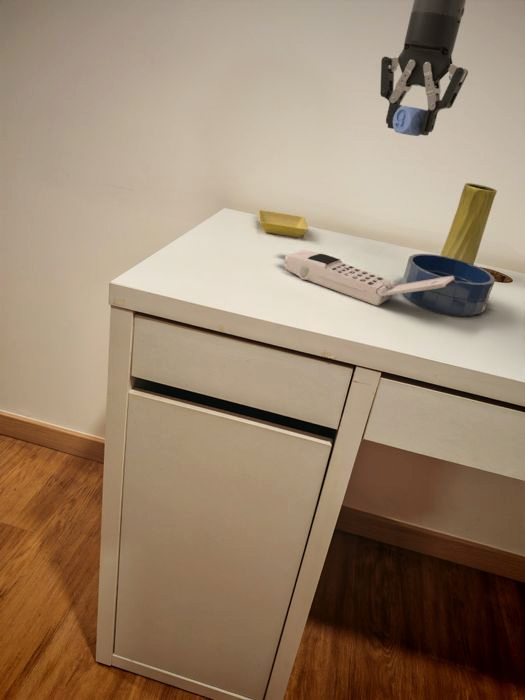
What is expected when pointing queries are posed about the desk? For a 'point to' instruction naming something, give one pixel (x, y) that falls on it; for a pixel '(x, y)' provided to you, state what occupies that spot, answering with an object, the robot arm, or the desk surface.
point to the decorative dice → (408, 120)
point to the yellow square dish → (282, 223)
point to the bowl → (457, 297)
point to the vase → (469, 223)
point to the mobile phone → (352, 277)
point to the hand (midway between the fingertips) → (407, 131)
